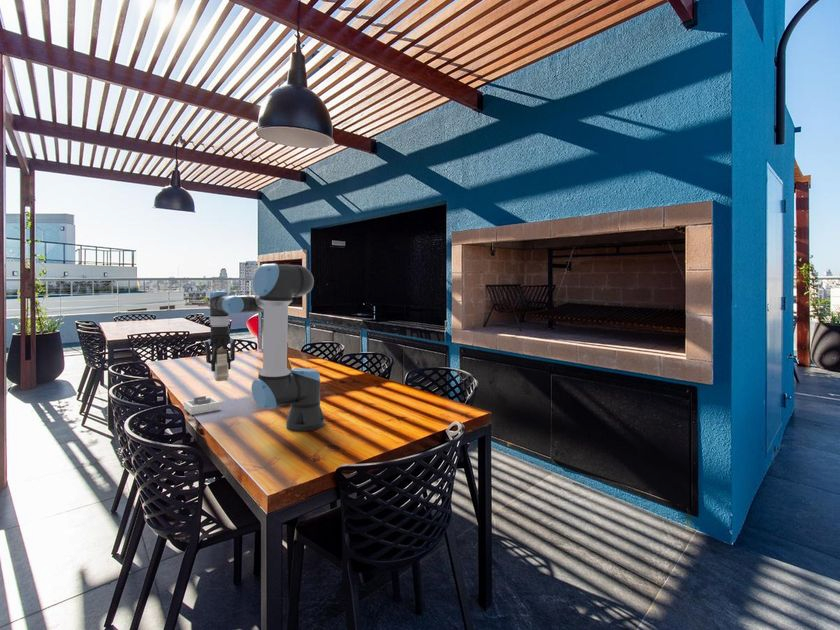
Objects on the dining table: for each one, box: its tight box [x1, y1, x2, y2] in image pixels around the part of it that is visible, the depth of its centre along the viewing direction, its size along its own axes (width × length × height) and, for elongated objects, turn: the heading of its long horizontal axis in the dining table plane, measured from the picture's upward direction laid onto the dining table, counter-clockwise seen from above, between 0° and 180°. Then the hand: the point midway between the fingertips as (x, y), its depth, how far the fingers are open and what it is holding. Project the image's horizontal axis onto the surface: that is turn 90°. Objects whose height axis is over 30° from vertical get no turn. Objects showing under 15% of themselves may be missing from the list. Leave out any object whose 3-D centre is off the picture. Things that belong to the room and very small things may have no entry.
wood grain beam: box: [214, 347, 228, 382], centre depth 191 cm, size 4×4×14 cm
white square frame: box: [183, 395, 221, 416], centre depth 194 cm, size 12×12×5 cm
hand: (221, 377), depth 191 cm, fingers closed on wood grain beam, 4 cm apart
